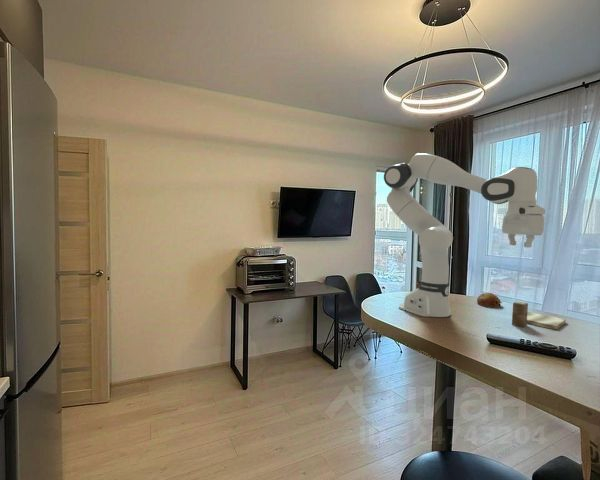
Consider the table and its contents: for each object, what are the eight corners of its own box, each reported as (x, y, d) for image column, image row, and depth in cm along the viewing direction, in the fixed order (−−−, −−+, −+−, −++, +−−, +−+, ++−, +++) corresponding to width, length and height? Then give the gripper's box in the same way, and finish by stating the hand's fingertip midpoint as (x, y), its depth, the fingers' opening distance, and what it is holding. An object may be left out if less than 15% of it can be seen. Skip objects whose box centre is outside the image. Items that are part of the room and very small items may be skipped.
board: (515, 320, 136) (515, 317, 136) (525, 314, 145) (526, 311, 145) (556, 329, 125) (556, 326, 125) (565, 322, 134) (565, 319, 134)
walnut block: (511, 324, 131) (513, 302, 130) (515, 322, 133) (516, 301, 132) (523, 327, 128) (524, 304, 127) (526, 325, 130) (528, 303, 129)
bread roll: (490, 309, 166) (485, 294, 169) (508, 305, 157) (502, 289, 159) (475, 311, 163) (471, 295, 165) (492, 307, 154) (487, 290, 156)
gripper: (498, 210, 133) (497, 244, 134) (529, 209, 113) (527, 248, 114) (514, 210, 133) (512, 244, 134) (548, 209, 112) (546, 248, 113)
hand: (520, 246), depth 124 cm, fingers open, 8 cm apart
